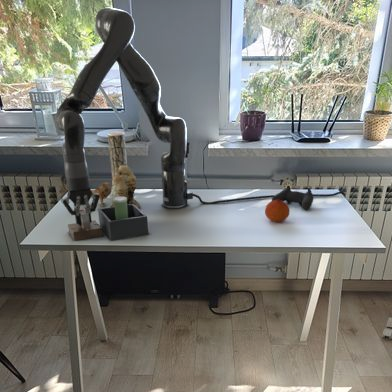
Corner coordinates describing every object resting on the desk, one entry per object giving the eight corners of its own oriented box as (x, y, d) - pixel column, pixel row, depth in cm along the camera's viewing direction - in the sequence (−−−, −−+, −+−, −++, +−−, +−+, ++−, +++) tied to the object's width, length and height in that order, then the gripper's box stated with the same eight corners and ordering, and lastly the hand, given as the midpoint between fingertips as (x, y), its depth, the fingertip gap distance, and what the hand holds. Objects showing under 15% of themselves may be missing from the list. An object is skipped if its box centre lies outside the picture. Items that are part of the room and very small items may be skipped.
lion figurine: (113, 202, 209) (111, 180, 204) (112, 206, 205) (110, 184, 200) (78, 204, 208) (74, 182, 203) (76, 208, 204) (73, 185, 199)
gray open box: (134, 220, 190) (133, 203, 187) (148, 234, 178) (147, 216, 175) (99, 226, 186) (97, 208, 182) (111, 240, 174) (109, 221, 170)
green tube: (127, 225, 184) (124, 195, 178) (131, 229, 181) (128, 199, 174) (115, 227, 183) (112, 197, 176) (118, 231, 179) (115, 201, 173)
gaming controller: (309, 216, 200) (319, 197, 203) (308, 206, 195) (318, 187, 198) (271, 209, 207) (281, 191, 210) (269, 199, 203) (279, 181, 206)
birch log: (126, 196, 216) (121, 134, 203) (111, 195, 218) (105, 134, 204) (131, 191, 222) (126, 131, 208) (116, 191, 223) (110, 130, 209)
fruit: (293, 221, 188) (295, 200, 183) (274, 226, 184) (276, 204, 179) (278, 215, 194) (280, 194, 190) (260, 219, 190) (261, 198, 186)
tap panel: (95, 227, 184) (94, 219, 183) (102, 236, 177) (101, 227, 175) (68, 232, 181) (67, 223, 179) (74, 241, 174) (73, 232, 172)
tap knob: (90, 227, 176) (88, 213, 173) (83, 228, 175) (81, 214, 172) (85, 223, 180) (83, 208, 177) (78, 224, 179) (76, 209, 176)
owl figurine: (115, 202, 210) (110, 159, 200) (142, 202, 209) (139, 159, 200) (105, 216, 195) (100, 171, 185) (135, 216, 194) (131, 171, 185)
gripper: (59, 179, 162) (68, 231, 172) (100, 173, 168) (106, 224, 177) (53, 174, 168) (62, 225, 177) (93, 169, 173) (99, 218, 183)
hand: (84, 224), depth 177 cm, fingers closed on tap knob, 2 cm apart
